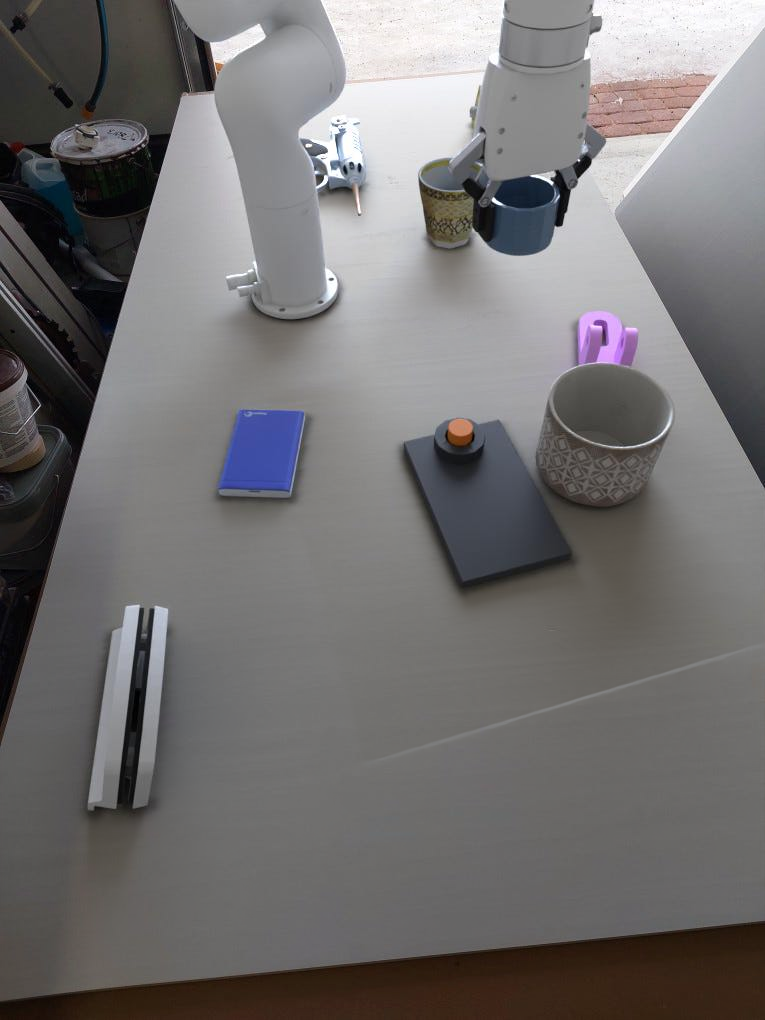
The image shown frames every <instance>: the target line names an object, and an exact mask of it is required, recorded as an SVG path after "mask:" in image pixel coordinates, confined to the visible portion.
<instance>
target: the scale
mask: <svg viewBox="0 0 765 1020" xmlns="http://www.w3.org/2000/svg"><path fill="white" fill-rule="evenodd" d="M455 419H465V420H468V421H469V422H470V423H471V424H472V426H473V434H472V440H471V442H470V443H469V444H468V445H466V446H462V447H459V446H454V445H452V444H451V443H450V442H449V441H448V426H449V424H450V422H451V421H453V420H455ZM403 451H404V454H405V455H406V459H407V461H408V464H409V466H410V468H411V471H412V474H413V476H414V478H415V480H416V483H417V485H418V487H419V490H420V492H421V495H422V497H423V500H424V502H425V505H426V507H427V509H428V513H429V514H430V516H431V519H432V521H433V524H434V526H435V528H436V531H437V533H438V535H439V538H440V541H441V543H442V545H443V548H444V550H445V552H446V556H447V557H448V560H449V562H450V565H451V567H452V569H453V572H454V574H455V577H456V579H457V581H458V583H459V586H460V589H466V588H470V587H475V586H478V585H481V584H485V583H489V582H492V581H496V580H501V579H505V578H507V577H511V576H514V575H518V574H522V573H526V572H529V571H533V570H537V569H540V568H545V567H548V566H552V565H555V564H558V563H562V562H566V561H569V560H571V557H572V554H573V551H572V549H571V547H570V546H569V544H568V541H566V538H565V536H564V535H563V533H562V532H561V529H560V528H559V526H558V524H557V522H556V520H555V519H554V517H553V514H552V513H551V511H550V509H549V507H548V506H547V504H546V502H545V500H544V498H543V497H542V495H541V493H540V491H539V489H538V488H537V485H536V484H535V482H534V481H533V478H532V477H531V475H530V473H529V471H528V470H527V468H526V466H525V464H524V462H523V460H522V459H521V456H520V455H519V453H518V451H517V449H516V448H515V446H514V444H513V442H512V439H510V436H509V435H508V432H507V431H506V429H505V428H504V426H503V423H502V422H501V420H500V419H495V420H491V421H486V422H482V423H477V422H476V421H474V420H472V419H470V418H465V417H454V418H450V419H446V420H444V421H442V423H440V424H439V425H438V426H436V428H435V433H434V434H431V435H427V436H423V437H419V438H414V439H410V440H406V441H403Z"/></svg>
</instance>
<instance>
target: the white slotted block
mask: <svg viewBox="0 0 765 1020" xmlns="http://www.w3.org/2000/svg"><path fill="white" fill-rule="evenodd" d="M144 615H145V607H141V605H140V604H134V605H126V606H125V608H124V615H123V623H122V626H121V627H119V628H116V629H114V630H112V632H111V638H110V643H109V645H110V646H109V652H108V657H107V667H106V673H105V679H104V688H103V693H102V694H103V695H102V701H101V707H100V715H99V723H98V729H97V737H96V743H95V750H94V757H93V764H92V771H91V778H90V785H89V792H88V798H87V799H88V800H87V810H88V811H95V807H99V808H107V809H113V810H116V809H117V806H118V805H123V800H124V792H125V783H126V779H128V780H130V782H129V789H128V790H129V792H128V800H127V805H132V809H133V810H134V809H137V808H142V807H146V806H148V805H149V799H150V794H151V787H152V781H153V777H154V776H153V775H154V770H155V760H156V750H157V741H158V732H159V723H160V722H159V721H160V720H159V719H160V710H161V700H162V690H163V689H162V688H163V679H164V667H165V658H166V645H167V634H168V633H167V632H168V630H167V629H168V619H169V608H166V607H162V606H158V605H154V608H153V607H149V611H148V619H147V625H146V626H147V627H146V633H143V625H144ZM136 691H139V692H140V695H139V704H138V713H137V723H136V731H131V730H132V721H133V713H134V703H135V696H136V694H135V693H136Z"/></svg>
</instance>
